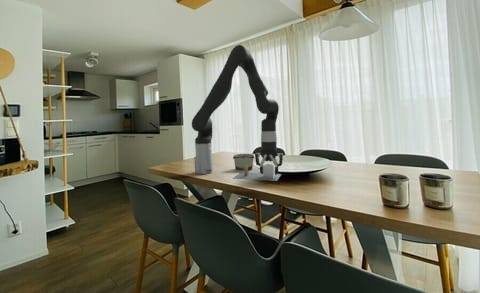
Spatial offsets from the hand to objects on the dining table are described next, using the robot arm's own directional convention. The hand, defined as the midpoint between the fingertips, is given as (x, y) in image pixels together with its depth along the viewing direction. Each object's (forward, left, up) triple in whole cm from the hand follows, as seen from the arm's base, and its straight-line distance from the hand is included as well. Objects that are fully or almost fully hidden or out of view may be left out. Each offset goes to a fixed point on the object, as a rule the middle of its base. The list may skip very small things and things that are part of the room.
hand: (269, 173), depth 118 cm
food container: (-18, +17, -3) cm, 25 cm away
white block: (0, 0, -1) cm, 1 cm away
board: (-6, 0, -3) cm, 7 cm away
